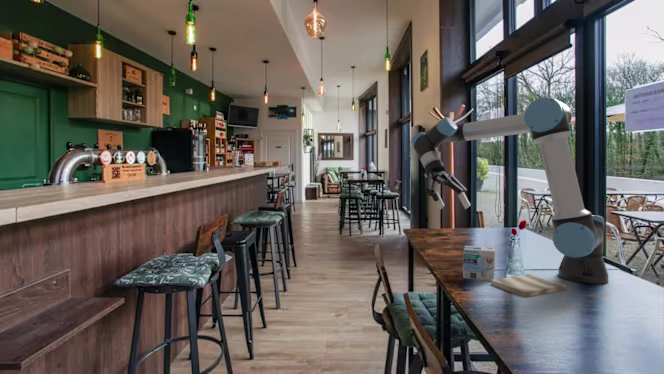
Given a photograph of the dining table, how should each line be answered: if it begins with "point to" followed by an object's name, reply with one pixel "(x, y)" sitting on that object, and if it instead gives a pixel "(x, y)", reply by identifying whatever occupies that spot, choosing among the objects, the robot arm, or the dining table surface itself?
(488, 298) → the dining table surface
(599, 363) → the dining table surface
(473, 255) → the light bulb box
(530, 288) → the birch board
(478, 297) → the dining table surface
